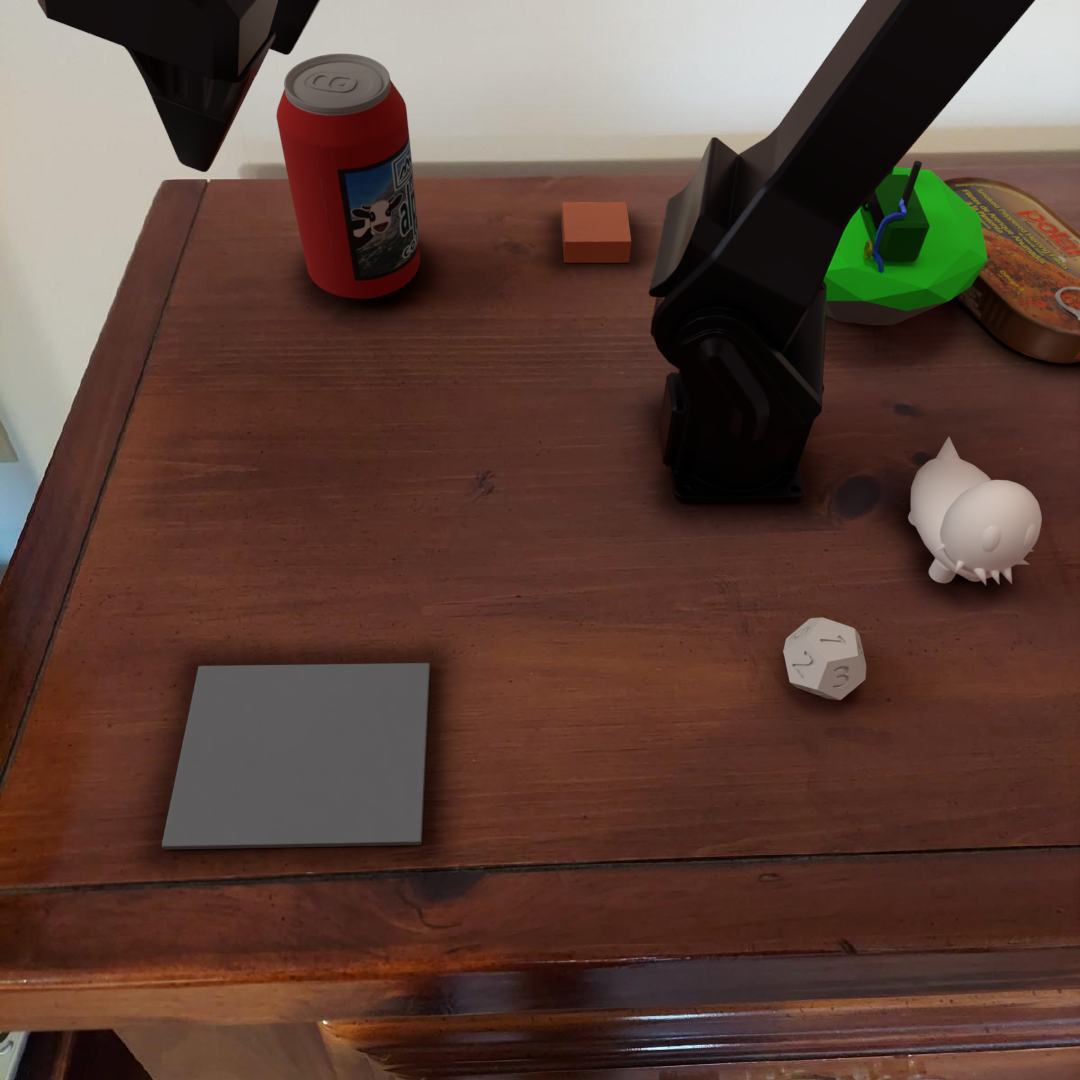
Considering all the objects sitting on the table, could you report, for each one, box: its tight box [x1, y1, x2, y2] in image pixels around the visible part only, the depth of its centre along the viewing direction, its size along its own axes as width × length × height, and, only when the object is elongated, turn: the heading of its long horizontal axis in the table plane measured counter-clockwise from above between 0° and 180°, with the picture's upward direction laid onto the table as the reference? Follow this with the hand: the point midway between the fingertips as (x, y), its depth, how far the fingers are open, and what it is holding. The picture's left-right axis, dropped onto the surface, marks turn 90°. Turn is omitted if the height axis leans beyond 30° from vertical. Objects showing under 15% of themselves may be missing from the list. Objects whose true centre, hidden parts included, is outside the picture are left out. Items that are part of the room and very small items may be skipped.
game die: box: [782, 616, 867, 701], centre depth 43 cm, size 4×4×3 cm
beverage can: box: [275, 53, 421, 300], centre depth 56 cm, size 7×7×12 cm
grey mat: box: [161, 662, 431, 851], centre depth 42 cm, size 10×8×1 cm
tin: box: [942, 176, 1080, 364], centre depth 60 cm, size 15×3×8 cm
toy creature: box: [907, 436, 1043, 586], centre depth 46 cm, size 5×8×6 cm, turn 4°
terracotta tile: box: [561, 201, 632, 264], centre depth 62 cm, size 4×4×2 cm
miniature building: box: [823, 160, 987, 326], centre depth 55 cm, size 12×12×11 cm
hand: (239, 104), depth 42 cm, fingers open, 9 cm apart
